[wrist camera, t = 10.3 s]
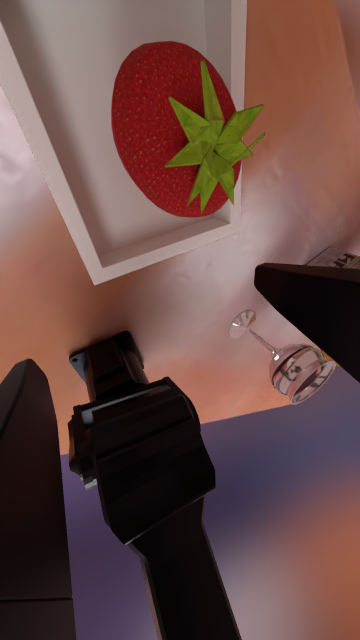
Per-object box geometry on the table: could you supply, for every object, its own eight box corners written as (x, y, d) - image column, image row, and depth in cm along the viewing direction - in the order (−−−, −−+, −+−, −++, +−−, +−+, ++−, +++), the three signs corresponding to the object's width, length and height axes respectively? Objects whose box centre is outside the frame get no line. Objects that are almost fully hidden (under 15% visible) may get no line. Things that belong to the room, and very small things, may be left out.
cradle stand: (217, 233, 23) (277, 260, 17) (91, 278, 19) (114, 331, 14) (204, -135, 11) (387, -445, 5) (-125, -187, 7) (-632, -1259, 2)
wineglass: (262, 325, 36) (332, 378, 28) (229, 349, 36) (290, 412, 27) (257, 296, 31) (340, 350, 23) (219, 324, 31) (289, 389, 22)
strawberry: (119, 35, 12) (263, -120, 5) (199, 156, 17) (321, 160, 10) (62, 137, 13) (118, 125, 6) (154, 221, 18) (240, 265, 11)
